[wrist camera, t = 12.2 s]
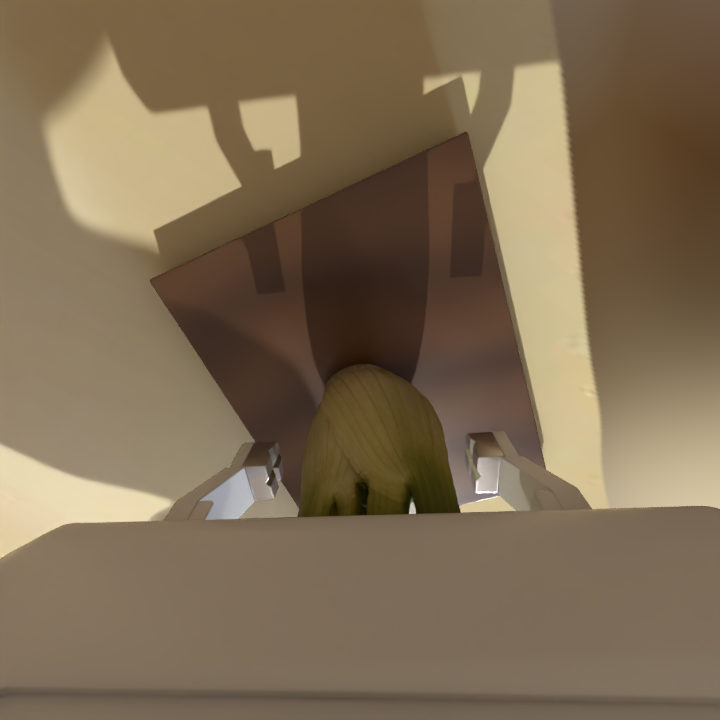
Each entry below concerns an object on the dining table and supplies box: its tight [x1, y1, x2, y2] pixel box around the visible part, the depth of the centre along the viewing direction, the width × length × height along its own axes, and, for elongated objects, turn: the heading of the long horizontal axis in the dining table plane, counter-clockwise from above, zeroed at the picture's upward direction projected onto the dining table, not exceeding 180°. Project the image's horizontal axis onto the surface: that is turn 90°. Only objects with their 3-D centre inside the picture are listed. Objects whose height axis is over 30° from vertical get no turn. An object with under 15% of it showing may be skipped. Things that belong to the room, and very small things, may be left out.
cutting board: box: [150, 132, 546, 514], centre depth 19 cm, size 20×16×2 cm
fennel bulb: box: [298, 364, 461, 517], centre depth 13 cm, size 6×5×12 cm
